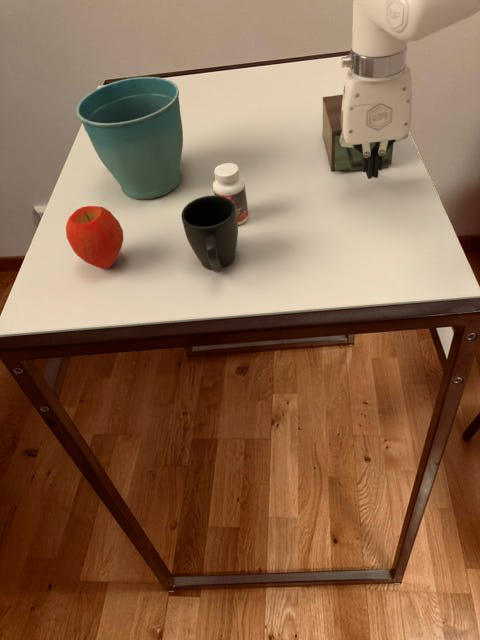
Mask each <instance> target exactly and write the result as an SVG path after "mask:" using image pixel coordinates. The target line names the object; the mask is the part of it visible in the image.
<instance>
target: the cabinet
mask: <svg viewBox="0 0 480 640" xmlns="http://www.w3.org/2000/svg"><path fill="white" fill-rule="evenodd" d="M342 100H343V94H337V95H335V94H334V95H329V96H322V138H323V143H324V147H325V151H326V155H327V159H328V164H329V166H330V168H329V169H330V171H331V172H338V171H341V170H335V136H336V135H340V134H341V133H342V129H341V109H342ZM393 151H394V143H393V144H392V147H391V156H390V164H389V166H392V160H393V153H394V152H393ZM347 170H349V171H350V169H344V170H343V171H347Z"/></svg>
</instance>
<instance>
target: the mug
mask: <svg viewBox="0 0 480 640" xmlns="http://www.w3.org/2000/svg"><path fill="white" fill-rule="evenodd" d="M180 216H181V221H182V225H183V229H184V233H185V237H186V239H187V241H188V243H189V245H190V247H191V250H192V251H193V252H194V254H195V256H196V257H197V259H198V260H199V262H200V264H201V265H202V266H203V268H204V269H206V270H210V271H213V272H215V273H221V272H223V270H224V269H227V268H228V267H230V266H231V265H232V264H233V263H234V261H235V256H236V251H237V247H238V239H239V225H238V222H237V215H236V209H235V205H234V204H233V202H232V201H231V200H230V199H228V198H226V197H222V196H216V195H214V194H213V195H205V196H200V197H197V198H195V199H193V200H192V201H190V202H188V204H185V206H184V208H183V209H182V211H181V215H180Z"/></svg>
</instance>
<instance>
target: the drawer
mask: <svg viewBox="0 0 480 640" xmlns="http://www.w3.org/2000/svg"><path fill="white" fill-rule="evenodd" d="M340 136H341V134H340V135H336V136H335V170H340V171H345V170H344V169H349V171H360V170H362V154H361V153H360V152H359V151H358V150H356V149H355V148H354V147H352V148H349V147H342V146H341V145H340V142H339V140H340ZM374 146H375V142H373V143H370V148H371V149H372V148H373V147H374ZM391 147H392V145H391V146H390V147H389V148H388V149H387V150H386V153H385V154H384V155H383V159H382V168H388V167H389V166H390V165H389V164H390V156H391Z"/></svg>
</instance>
